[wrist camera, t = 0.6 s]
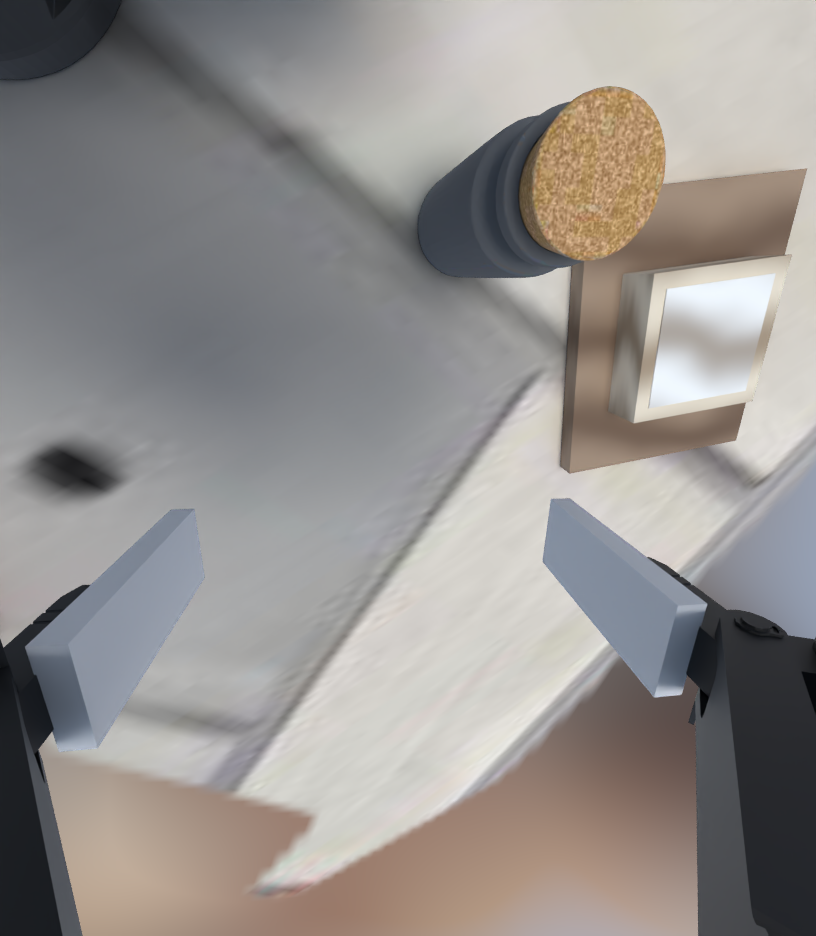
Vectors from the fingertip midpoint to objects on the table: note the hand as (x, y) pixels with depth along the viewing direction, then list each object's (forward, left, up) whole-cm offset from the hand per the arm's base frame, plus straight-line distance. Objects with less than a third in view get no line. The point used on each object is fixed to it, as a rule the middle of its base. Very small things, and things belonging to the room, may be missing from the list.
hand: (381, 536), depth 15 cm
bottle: (-11, +9, -17) cm, 22 cm away
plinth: (-2, +25, -17) cm, 30 cm away
